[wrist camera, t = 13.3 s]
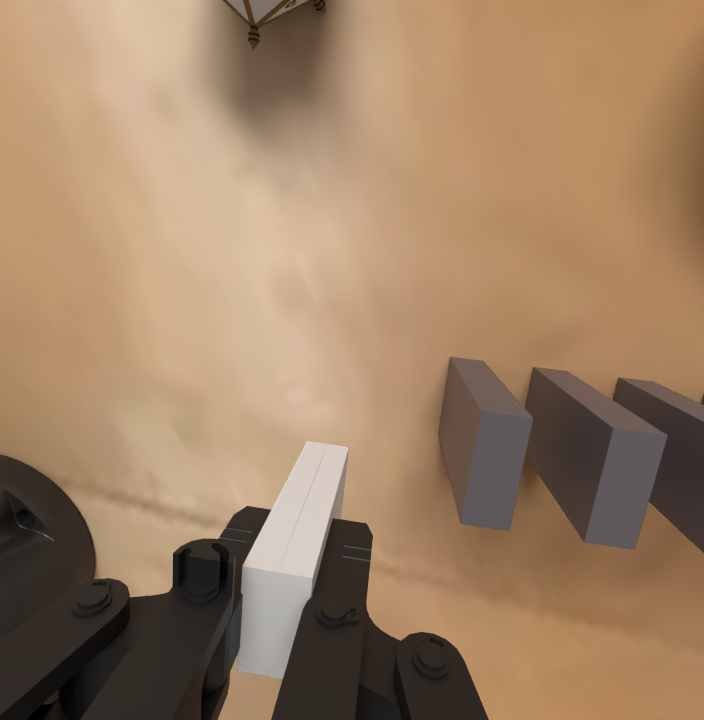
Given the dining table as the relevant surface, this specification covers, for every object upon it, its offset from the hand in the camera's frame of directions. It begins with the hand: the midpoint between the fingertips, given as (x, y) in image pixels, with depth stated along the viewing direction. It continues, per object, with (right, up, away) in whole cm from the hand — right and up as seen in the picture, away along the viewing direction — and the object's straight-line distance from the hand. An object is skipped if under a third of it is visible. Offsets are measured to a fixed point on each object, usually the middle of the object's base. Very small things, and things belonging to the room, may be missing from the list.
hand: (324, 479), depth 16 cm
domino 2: (+13, +1, +11) cm, 17 cm away
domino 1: (+8, +2, +12) cm, 14 cm away
